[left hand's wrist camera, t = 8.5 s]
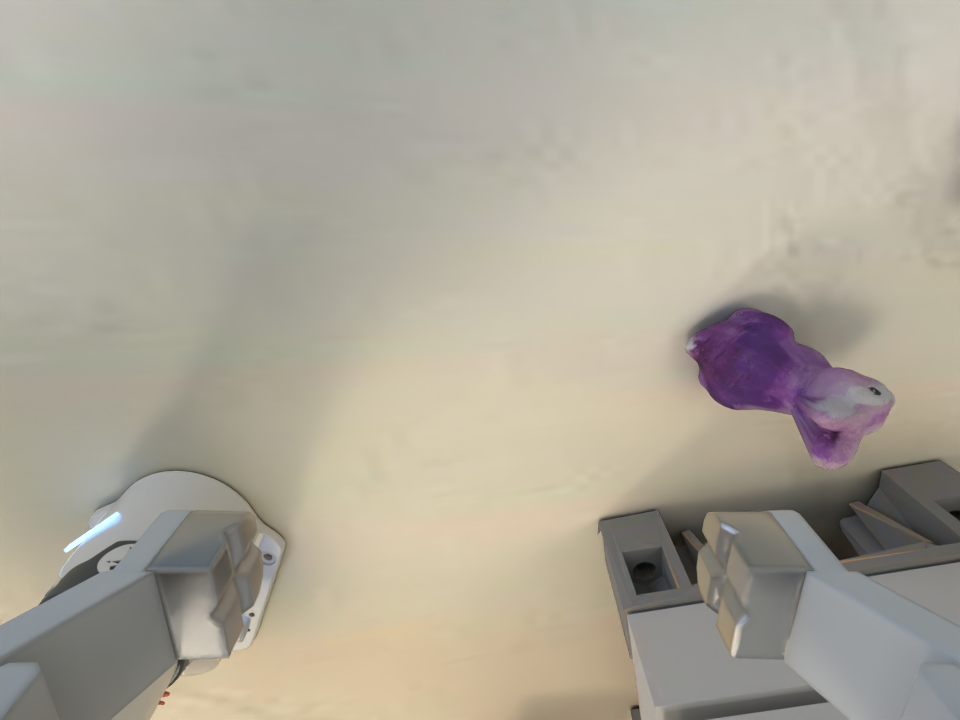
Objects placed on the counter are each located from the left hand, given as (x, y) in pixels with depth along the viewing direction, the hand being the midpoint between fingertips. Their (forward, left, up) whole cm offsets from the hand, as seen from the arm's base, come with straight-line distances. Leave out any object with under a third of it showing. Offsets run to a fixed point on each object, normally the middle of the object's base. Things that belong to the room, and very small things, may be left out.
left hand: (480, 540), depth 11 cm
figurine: (-7, -25, -39) cm, 47 cm away
